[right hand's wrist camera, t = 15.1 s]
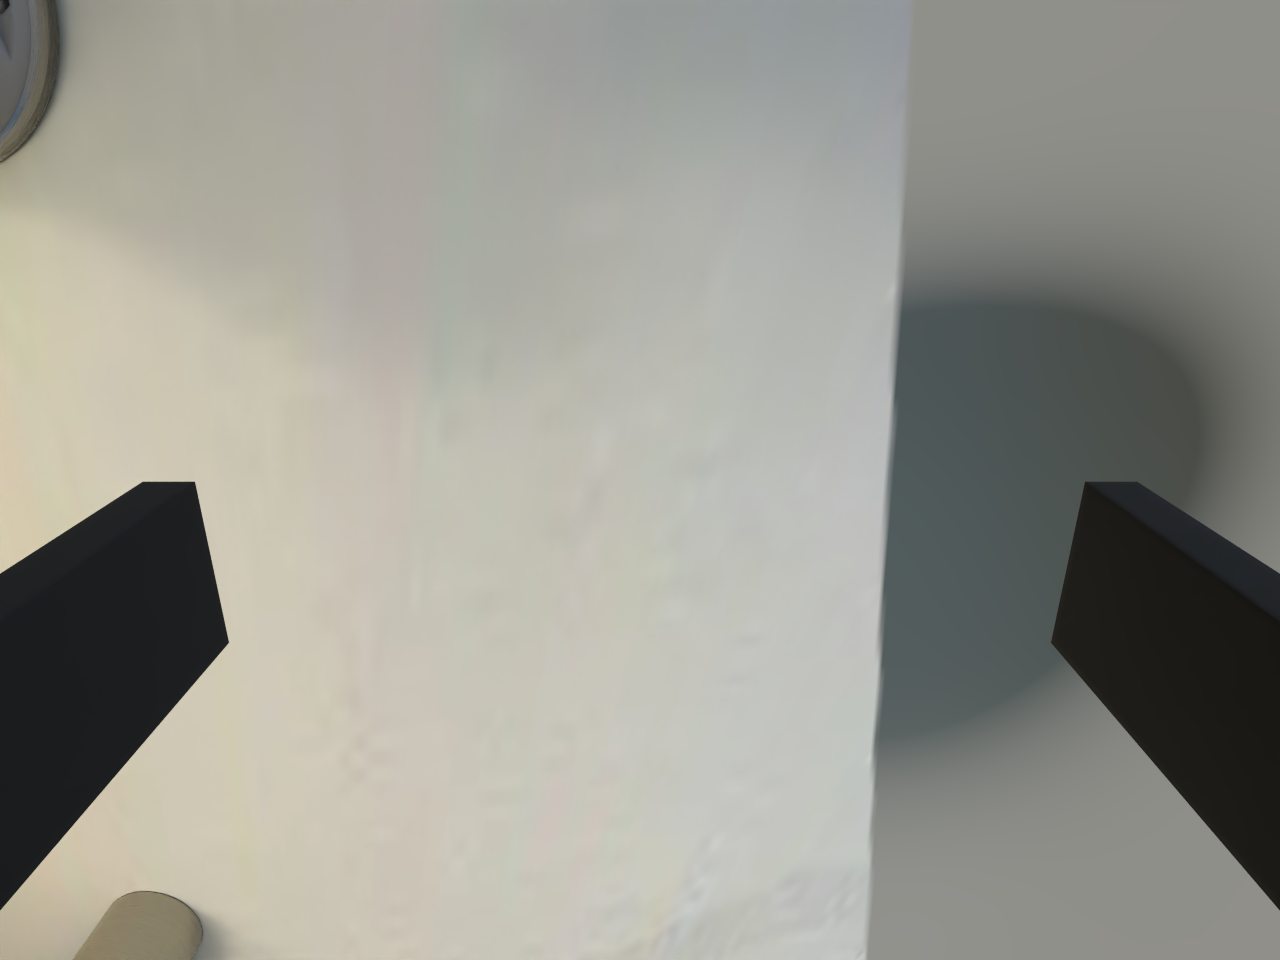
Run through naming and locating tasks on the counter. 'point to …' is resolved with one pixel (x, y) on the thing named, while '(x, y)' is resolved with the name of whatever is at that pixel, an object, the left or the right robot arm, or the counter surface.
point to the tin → (144, 930)
